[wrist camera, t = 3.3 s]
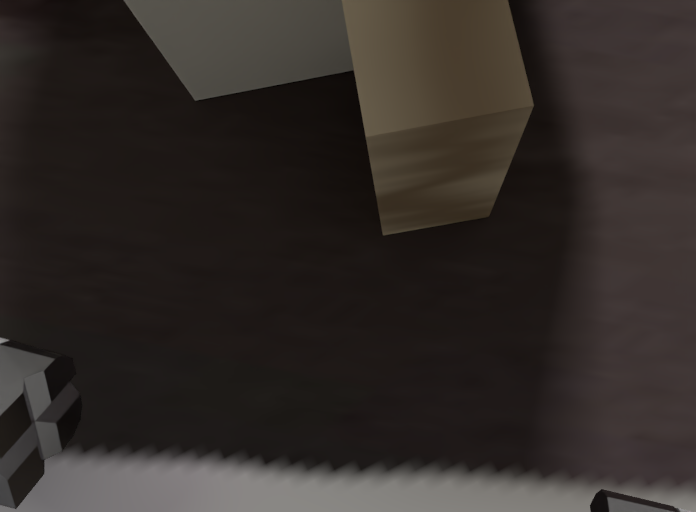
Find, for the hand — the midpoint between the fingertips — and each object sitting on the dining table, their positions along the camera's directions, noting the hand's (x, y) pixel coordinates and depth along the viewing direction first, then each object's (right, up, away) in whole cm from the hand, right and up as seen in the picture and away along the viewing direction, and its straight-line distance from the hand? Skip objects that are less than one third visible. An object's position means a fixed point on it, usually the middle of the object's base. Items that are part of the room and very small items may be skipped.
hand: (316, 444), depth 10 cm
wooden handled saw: (+2, +14, +17) cm, 22 cm away
